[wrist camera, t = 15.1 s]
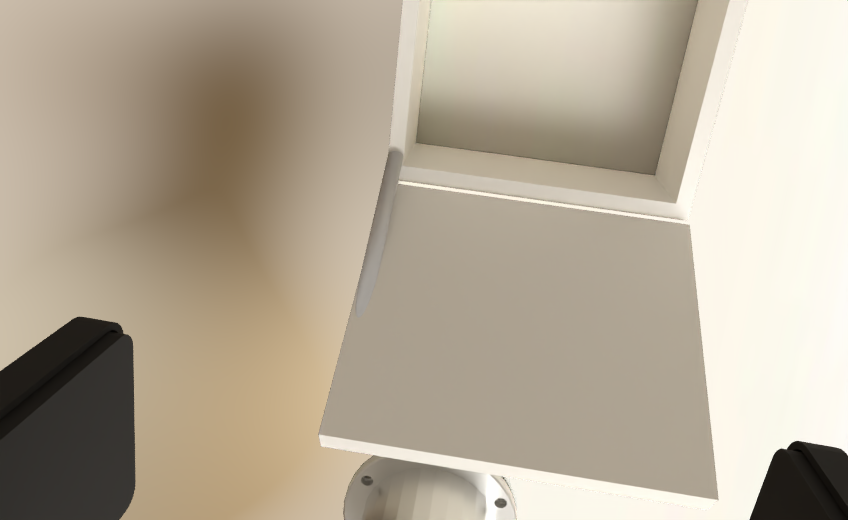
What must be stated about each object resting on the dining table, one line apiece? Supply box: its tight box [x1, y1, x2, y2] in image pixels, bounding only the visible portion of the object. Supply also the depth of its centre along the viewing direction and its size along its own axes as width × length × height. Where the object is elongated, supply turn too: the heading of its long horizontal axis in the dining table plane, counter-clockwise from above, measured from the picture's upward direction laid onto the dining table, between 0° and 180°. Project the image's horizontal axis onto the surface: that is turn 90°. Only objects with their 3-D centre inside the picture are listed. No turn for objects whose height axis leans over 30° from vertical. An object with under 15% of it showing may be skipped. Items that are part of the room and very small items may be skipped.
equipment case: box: [318, 0, 748, 510], centre depth 31 cm, size 24×16×18 cm, turn 174°
